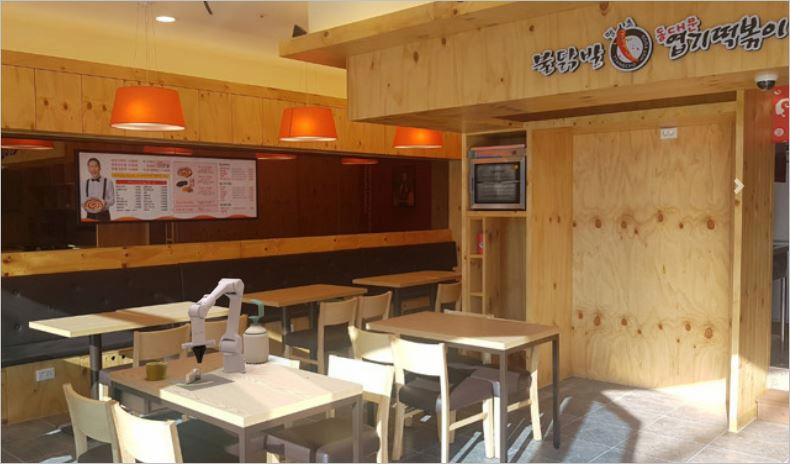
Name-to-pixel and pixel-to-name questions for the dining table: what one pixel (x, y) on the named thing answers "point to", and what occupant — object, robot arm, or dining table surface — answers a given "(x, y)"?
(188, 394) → the dining table surface
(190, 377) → the tuning dial
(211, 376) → the tuner board
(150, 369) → the mug
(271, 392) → the dining table surface
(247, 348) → the soap bottle
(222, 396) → the dining table surface
